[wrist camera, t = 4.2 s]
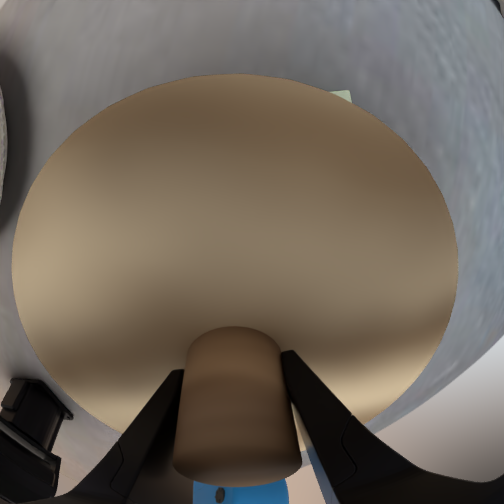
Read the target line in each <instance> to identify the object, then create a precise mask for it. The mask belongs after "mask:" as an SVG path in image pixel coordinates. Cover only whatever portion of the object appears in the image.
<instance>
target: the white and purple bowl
mask: <svg viewBox="0 0 504 504" xmlns="http://www.w3.org/2000/svg"><path fill="white" fill-rule="evenodd" d="M6 162H7V126H6V118H5V113H4V102H3V96H2V90H1V87H0V203H1V197H2V189H3V179H4V174H5V169H6Z"/></svg>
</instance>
